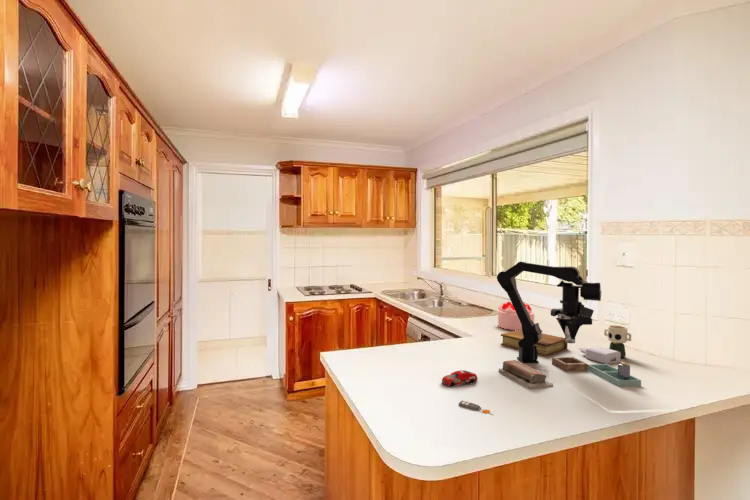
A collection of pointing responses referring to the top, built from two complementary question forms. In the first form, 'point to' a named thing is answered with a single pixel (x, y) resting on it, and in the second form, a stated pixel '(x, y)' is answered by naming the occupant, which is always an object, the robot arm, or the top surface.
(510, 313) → the cake
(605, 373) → the trough tray
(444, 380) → the race car
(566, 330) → the steel cell
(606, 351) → the charger
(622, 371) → the dark cell
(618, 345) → the mug head figurine
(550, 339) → the diary
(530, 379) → the packaged product
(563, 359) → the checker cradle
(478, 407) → the key chain
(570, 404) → the top surface
